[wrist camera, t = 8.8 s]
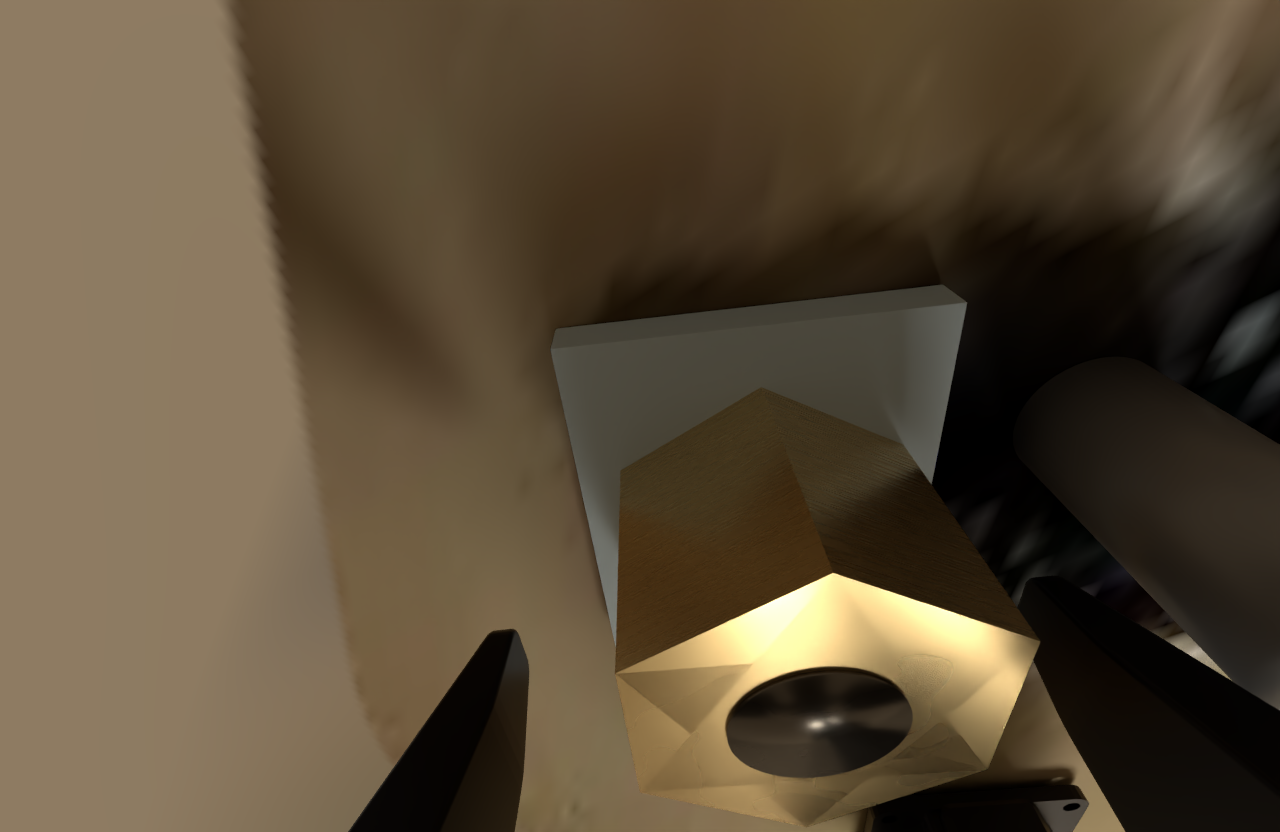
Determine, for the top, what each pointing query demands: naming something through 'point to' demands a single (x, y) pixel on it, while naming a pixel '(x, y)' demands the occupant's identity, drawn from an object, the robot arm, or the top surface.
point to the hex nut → (804, 620)
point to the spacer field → (1170, 502)
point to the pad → (751, 381)
